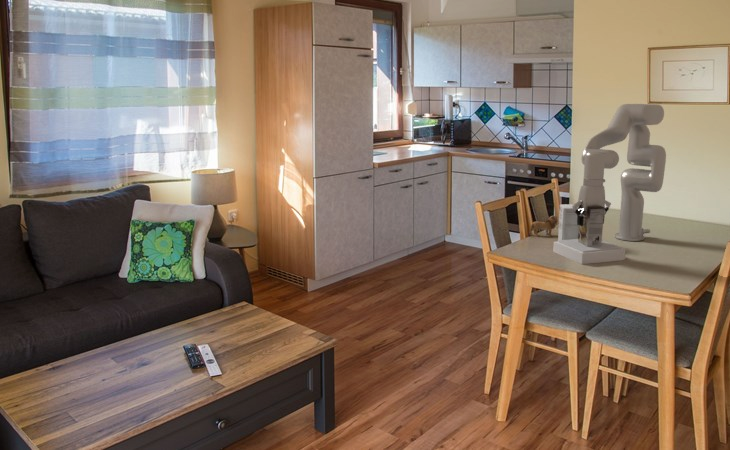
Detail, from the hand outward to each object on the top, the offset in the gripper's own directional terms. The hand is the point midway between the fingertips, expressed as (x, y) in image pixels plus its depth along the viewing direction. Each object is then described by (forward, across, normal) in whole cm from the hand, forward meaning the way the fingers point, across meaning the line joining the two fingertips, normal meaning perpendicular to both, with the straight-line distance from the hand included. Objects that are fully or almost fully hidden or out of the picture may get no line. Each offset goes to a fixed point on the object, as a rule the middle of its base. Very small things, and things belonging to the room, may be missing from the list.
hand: (590, 224), depth 269 cm
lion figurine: (+14, -2, -38) cm, 40 cm away
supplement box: (+14, -5, -20) cm, 25 cm away
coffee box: (+8, 0, 0) cm, 8 cm away
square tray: (+13, 0, 0) cm, 13 cm away
